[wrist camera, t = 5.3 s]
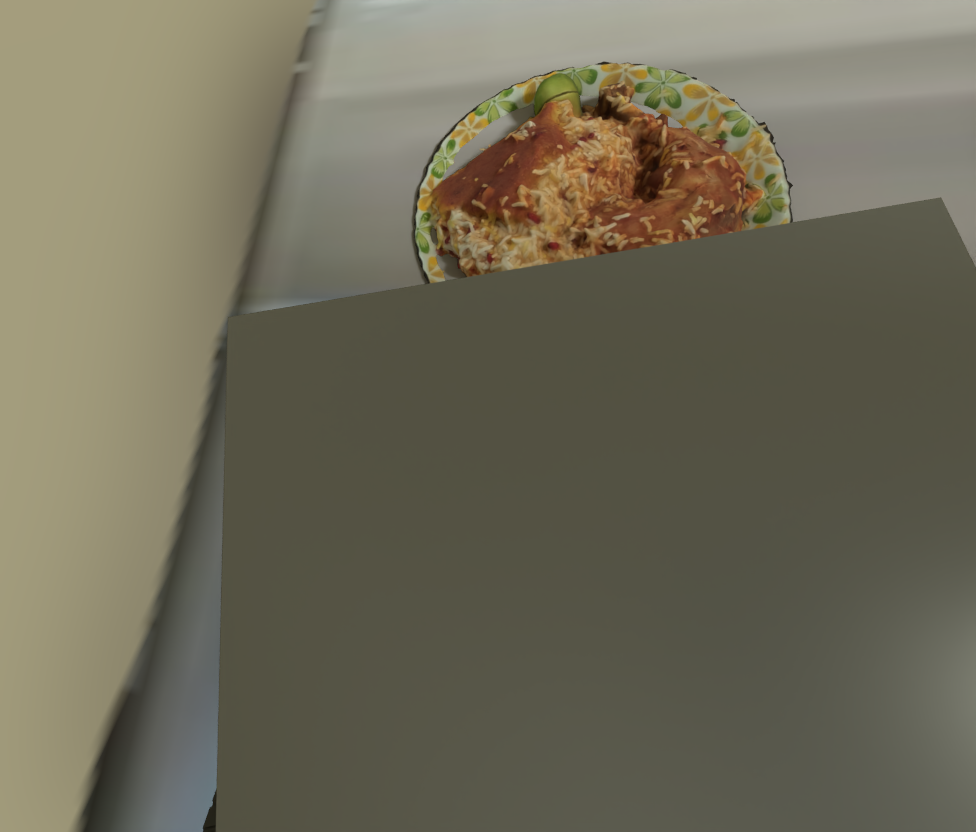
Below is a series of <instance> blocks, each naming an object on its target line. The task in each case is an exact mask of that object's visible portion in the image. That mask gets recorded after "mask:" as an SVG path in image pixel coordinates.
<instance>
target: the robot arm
mask: <svg viewBox="0 0 976 832" xmlns="http://www.w3.org/2000/svg"><path fill="white" fill-rule="evenodd" d="M216 797H217V789H216V792H215V795H214V797H213V800H212V801H213V805H212V807H210V809H209V812H208V815H207V817H206V820H205V823H204V826H203V832H216Z"/></svg>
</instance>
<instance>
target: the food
mask: <svg viewBox="0 0 976 832" xmlns="http://www.w3.org/2000/svg"><path fill="white" fill-rule="evenodd" d="M579 95H582V96H598V97H599V100H598V103H597V105H596V107H595V108H594V107H592V106H588V105H583V107H582V108H581V105H580V96H579ZM630 101H631V102H634V103H638V104H640V105H644V106H648V107H650V108H652V109H654V110H656V112H658V113H661V115H660V116H659V117H657V118H656V119H655V117H654V115H653V114H645V113H644V112H642V111H641V110H640V109H638V108H637V107H635V106H634V105H633V104H632V103H631V102H630ZM531 104H534V112H535V117H529V119H528V121H527V122H525V123H523V124H522V125H521V126H519V127H518V129H517V130H516V131H514V132H511V133H509V134H508V135H507V137H505V138H503V139H502V140H501V141H500V142H498V143H496V144H495V145H493V146H491V145H489V146H488V147H489V148H488V149H484V148H482V149H480V150H484V152H483V153H481V154H480V155H479V156H477V157H476V158H475V159H473V160H472V161H471V162H470V163H468V164H467V166H466V167H464V168H462V169H460V170H458V171H457V172H456V173H455V174H453V175H451V176H448V177H447V178H446V179H445V180H444V181H443V182H442V179H443V176H444V173H445V172H446V170H447V169H448V167H449V166H450V165H452V164H454V161H453V159H454V157H455V155H456V154H457V152H458V151H459V149H460V148H461V147H462V146H463V145H465V144H466V143H467V142H468V141H470V140H471V139H473V138H474V137H475V136H476V135H477V134H478V133H479V132H480V131H481V130H482V129H484V128H485V127H486V126H487V125H489V124H490V123H491V122H492V121H494V120H497V119H498V118H500V117H503V116H504V115H507V114H508V113H510V112H511V111H514V110H516V109H521V108H525V107H527V106H529V105H531ZM667 116H669V117H671V118H673V119H674V120H676V121H678V122H679V123H680V124H681V125H682V126H683V127H682V128H672V127H668V117H667ZM773 138H774V137H773V135H772V134H771V132H770V131H769V130H768V128H767V125H766V124H765V122H763V123H759V124H758V122H757V121H756V120H754V117H753V116H749V115H747V113H746V111H745V110H743V109H742V108H741V107H740V106H739V104H738V103H737V102H735V99H730V98H728V97H727V96H726V95H723V94H721V93H720V92H719V91H718V90H716V89H715V88H713V87H711V86H709V85H707V84H704V83H702V82H700V81H697V78H695V77H690V76H688V75H687V74H686V73H682V72H679V71H676V70H671V69H670V70H666V71H663V70H660V69H657V68H654V67H651V66H647V65H643V64H630V63H624V64H617V63H608V62H601V63H598V64H595V65H590V66H586V67H584V68H574V67H571V68H567V69H562V70H557V71H552V72H550V73H547V74H545V75H539V76H534V77H532V78H530V79H528V80H527V81H525V82H522V83H518V84H515V85H512V86H511V87H510V88H508V89H504V90H502V91H501V92H499V93H498V94H497V95H495V96H494V97H492V98H490V99H488V100H486V101H484V102H483V103H481V104H479V105H478V106H477V107H475V108H474V109H473V110H472V111H471V112H470V113H468V114H467V115H465V117H464V118H463V119H461V120H460V121H459V122H458V123H457V124H456V125H455V126H454V128H453V129H452V130H451V131H450V132H449V133H448V134H447V135H446V136H445V137H444V139H443V140H442V141H441V142H440V144H439V145H438V147H437V150H436V151H435V153H434V155H433V157H432V160H431V162H430V163H429V164H428V166H427V167H426V173H425V177H424V179H423V180H422V182H421V184H420V188H419V191H418V195H417V198H418V201H417V205H416V213H415V219H414V220H415V223H414V225H415V230H414V238H415V244H416V247H417V254H418V258H419V260H420V263H421V267H422V268H423V269H424V276H425V278H426V279H427V281H428V284H429V283H435V282H441V281H446V280H445V278H444V275H443V273H444V271H442V270H441V269H440V267H439V266H438V263H437V260H436V256H437V255H440V256H443V255H445V254H449V255H450V256H451V257H456V258H458V268H459V269H461V271H462V272H463V273H465V274H466V276H467V277H471V276H477V275H483V274H489V273H495V272H501V271H507V270H512V269H518V268H524V267H530V266H536V265H542V264H548V263H554V262H560V261H566V260H572V259H578V258H584V257H590V256H596V255H602V254H608V253H614V252H620V251H626V250H632V249H638V248H644V247H650V246H655V245H661V244H667V243H673V242H679V241H685V240H691V239H697V238H703V237H709V236H715V235H721V234H727V233H733V232H739V231H745V230H751V229H757V228H763V227H769V226H775V225H781V224H787V223H792V222H793V219H792V212H791V208H790V205H791V198H790V188H791V187H792V186H793V185H792V184H791V183H790V182H788V181H787V175H786V173H785V171H786V169H785V166H784V164H783V162H784V160H783V159H782V158H781V157H780V156H779V154H778V153H777V151H776V148H775V143H772V142H773ZM432 227H434V228H435V230H436V232H437V239H438V241H439V243H438V245H434V244H433V242H432V239H431V235H430V232H431V228H432Z"/></svg>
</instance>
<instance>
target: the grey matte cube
mask: <svg viewBox="0 0 976 832" xmlns="http://www.w3.org/2000/svg"><path fill="white" fill-rule="evenodd" d="M216 832H976V267H975V265H974V263H973V261H972V259H971V257H970V255H969V253H968V251H967V249H966V247H965V245H964V243H963V241H962V239H961V237H960V235H959V233H958V231H957V229H956V227H955V225H954V223H953V221H952V219H951V217H950V215H949V213H948V211H947V208H946V206H945V204H944V202H943V200H942V198H936V199H930V200H924V201H918V202H912V203H906V204H900V205H894V206H888V207H882V208H876V209H870V210H864V211H858V212H852V213H846V214H840V215H834V216H828V217H822V218H816V219H810V220H804V221H798V222H793V223H787V224H781V225H775V226H769V227H763V228H757V229H751V230H745V231H739V232H733V233H727V234H721V235H715V236H709V237H703V238H697V239H691V240H685V241H679V242H673V243H667V244H661V245H655V246H650V247H644V248H638V249H632V250H626V251H620V252H614V253H608V254H602V255H596V256H590V257H584V258H578V259H572V260H566V261H560V262H554V263H548V264H542V265H536V266H530V267H524V268H518V269H512V270H507V271H501V272H495V273H489V274H483V275H477V276H471V277H465V278H459V279H453V280H447V281H441V282H435V283H429V284H423V285H417V286H411V287H405V288H399V289H393V290H387V291H381V292H375V293H369V294H364V295H358V296H352V297H346V298H340V299H334V300H328V301H322V302H316V303H310V304H304V305H298V306H292V307H286V308H280V309H274V310H268V311H262V312H256V313H250V314H244V315H238V316H232V317H228V330H227V373H226V415H225V458H224V500H223V543H222V585H221V627H220V670H219V712H218V755H217V797H216Z"/></svg>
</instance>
